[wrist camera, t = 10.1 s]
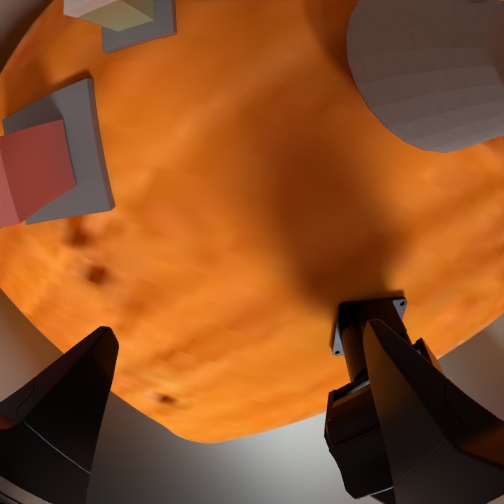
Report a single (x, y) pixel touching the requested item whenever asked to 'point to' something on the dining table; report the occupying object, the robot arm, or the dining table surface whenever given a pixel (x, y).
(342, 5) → the dining table surface
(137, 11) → the grey base with block
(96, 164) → the grey plate with post
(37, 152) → the red rectangular block
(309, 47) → the dining table surface
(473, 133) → the coffee pot
